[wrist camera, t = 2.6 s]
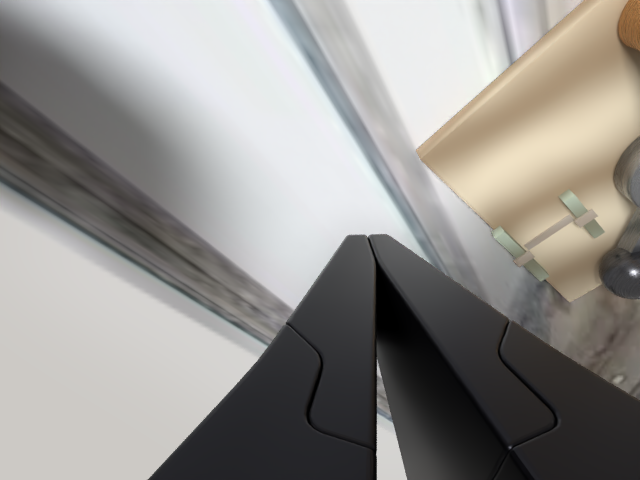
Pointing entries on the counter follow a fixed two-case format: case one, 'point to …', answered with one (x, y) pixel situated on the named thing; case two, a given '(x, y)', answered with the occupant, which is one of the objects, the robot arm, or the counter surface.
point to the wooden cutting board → (551, 148)
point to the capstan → (626, 190)
